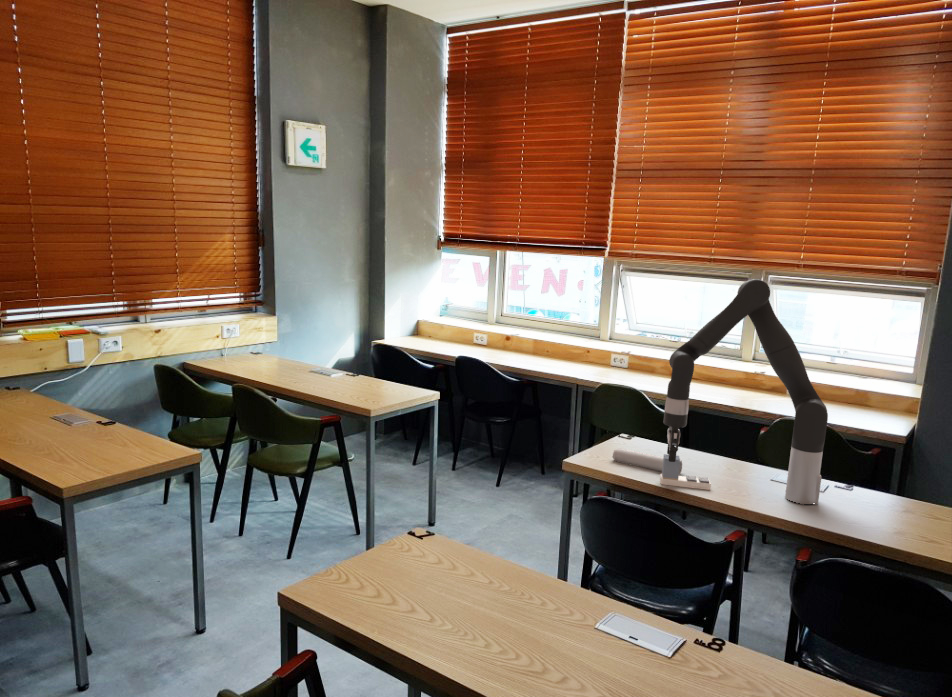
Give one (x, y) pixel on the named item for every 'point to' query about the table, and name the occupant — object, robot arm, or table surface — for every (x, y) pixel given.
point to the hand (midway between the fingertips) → (671, 457)
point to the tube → (640, 459)
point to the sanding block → (670, 468)
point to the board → (685, 483)
